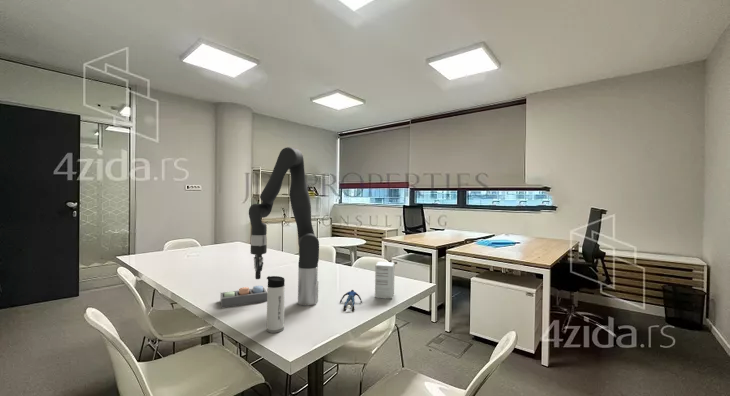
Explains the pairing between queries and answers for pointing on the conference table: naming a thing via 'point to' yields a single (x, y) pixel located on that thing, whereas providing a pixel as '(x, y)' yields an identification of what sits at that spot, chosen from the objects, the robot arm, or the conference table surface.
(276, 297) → the travel mug
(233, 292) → the sage button
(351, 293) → the person figurine
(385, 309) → the conference table surface
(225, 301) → the tray
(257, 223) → the robot arm
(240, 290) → the orange button
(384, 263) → the supplement box
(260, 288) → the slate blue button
